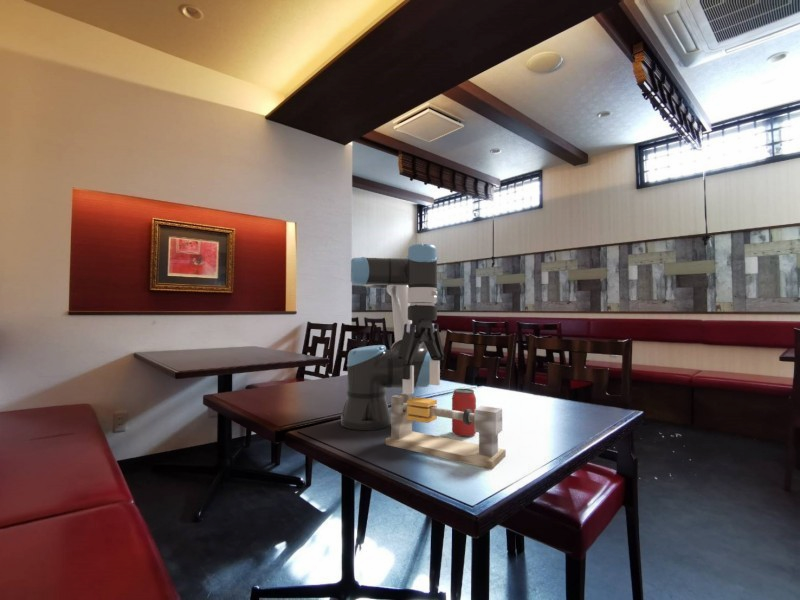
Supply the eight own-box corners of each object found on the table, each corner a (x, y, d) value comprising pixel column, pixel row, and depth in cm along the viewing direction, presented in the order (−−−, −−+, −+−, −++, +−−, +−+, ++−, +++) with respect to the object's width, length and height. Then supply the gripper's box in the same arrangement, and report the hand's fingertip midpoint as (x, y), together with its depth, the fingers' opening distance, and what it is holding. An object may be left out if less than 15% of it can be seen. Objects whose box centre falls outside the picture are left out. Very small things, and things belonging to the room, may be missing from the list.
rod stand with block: (385, 444, 98) (385, 397, 98) (404, 435, 105) (404, 391, 106) (492, 469, 82) (492, 412, 83) (505, 456, 90) (505, 404, 91)
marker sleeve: (406, 419, 97) (406, 400, 97) (416, 415, 101) (416, 396, 101) (427, 423, 94) (427, 403, 94) (436, 418, 98) (436, 399, 98)
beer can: (447, 431, 109) (447, 389, 109) (467, 429, 111) (467, 387, 112) (460, 438, 103) (460, 393, 103) (480, 435, 105) (480, 391, 106)
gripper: (409, 302, 86) (409, 398, 85) (456, 306, 107) (456, 383, 106) (382, 303, 90) (381, 395, 89) (432, 306, 111) (432, 380, 110)
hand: (422, 388), depth 97 cm, fingers open, 13 cm apart
